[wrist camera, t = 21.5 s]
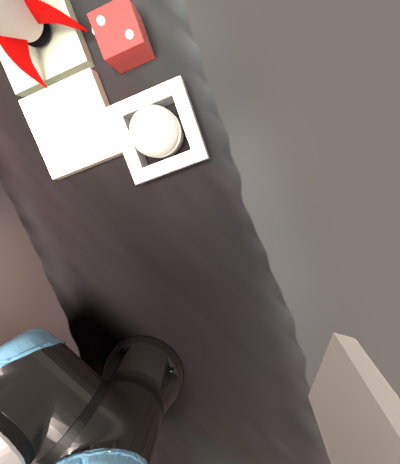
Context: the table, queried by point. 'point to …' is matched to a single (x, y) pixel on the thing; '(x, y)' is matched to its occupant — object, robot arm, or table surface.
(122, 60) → the red die
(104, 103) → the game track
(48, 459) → the robot arm
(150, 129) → the dome
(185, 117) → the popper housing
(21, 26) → the rocket
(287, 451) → the table surface
